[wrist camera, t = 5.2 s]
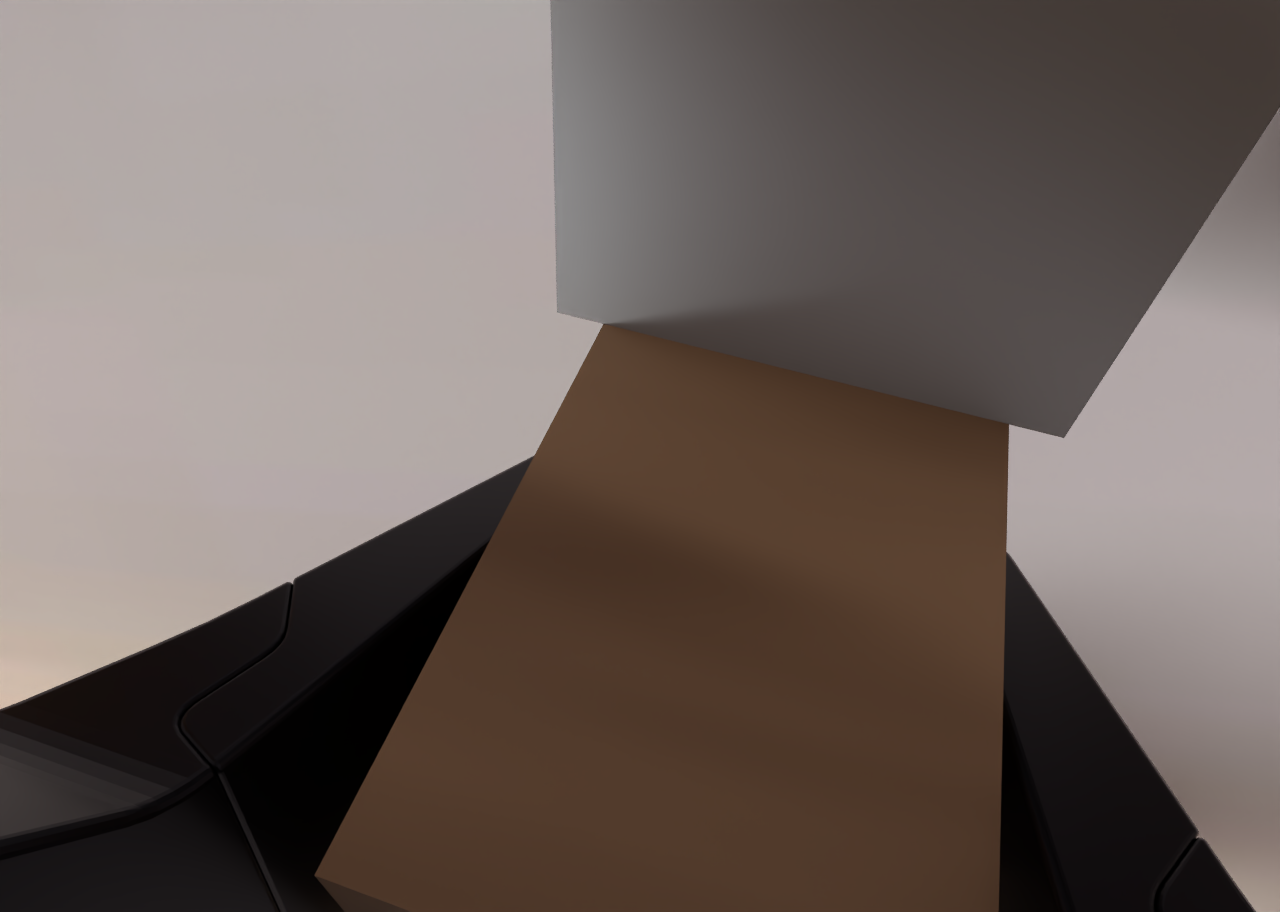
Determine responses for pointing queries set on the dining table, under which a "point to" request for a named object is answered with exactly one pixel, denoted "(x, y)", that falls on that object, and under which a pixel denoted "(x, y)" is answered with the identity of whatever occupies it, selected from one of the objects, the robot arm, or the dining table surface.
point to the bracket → (796, 445)
